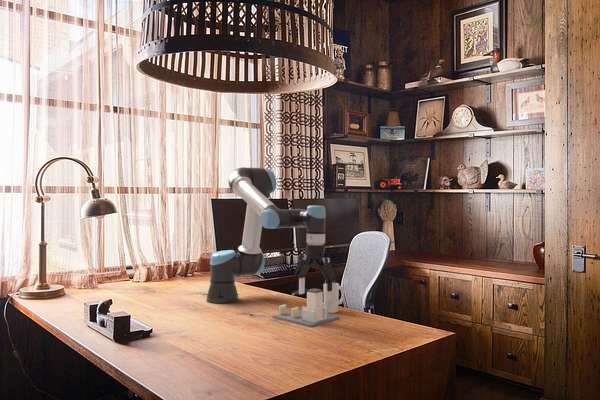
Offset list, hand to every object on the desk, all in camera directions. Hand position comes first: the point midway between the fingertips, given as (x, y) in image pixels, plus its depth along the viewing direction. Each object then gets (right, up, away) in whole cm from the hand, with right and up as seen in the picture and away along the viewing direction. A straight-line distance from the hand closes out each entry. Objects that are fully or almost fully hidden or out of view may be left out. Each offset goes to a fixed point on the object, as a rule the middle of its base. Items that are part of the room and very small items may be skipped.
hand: (314, 296), depth 199 cm
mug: (+9, -10, +18) cm, 23 cm away
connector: (0, -9, -1) cm, 9 cm away
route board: (-3, -10, +6) cm, 12 cm away
